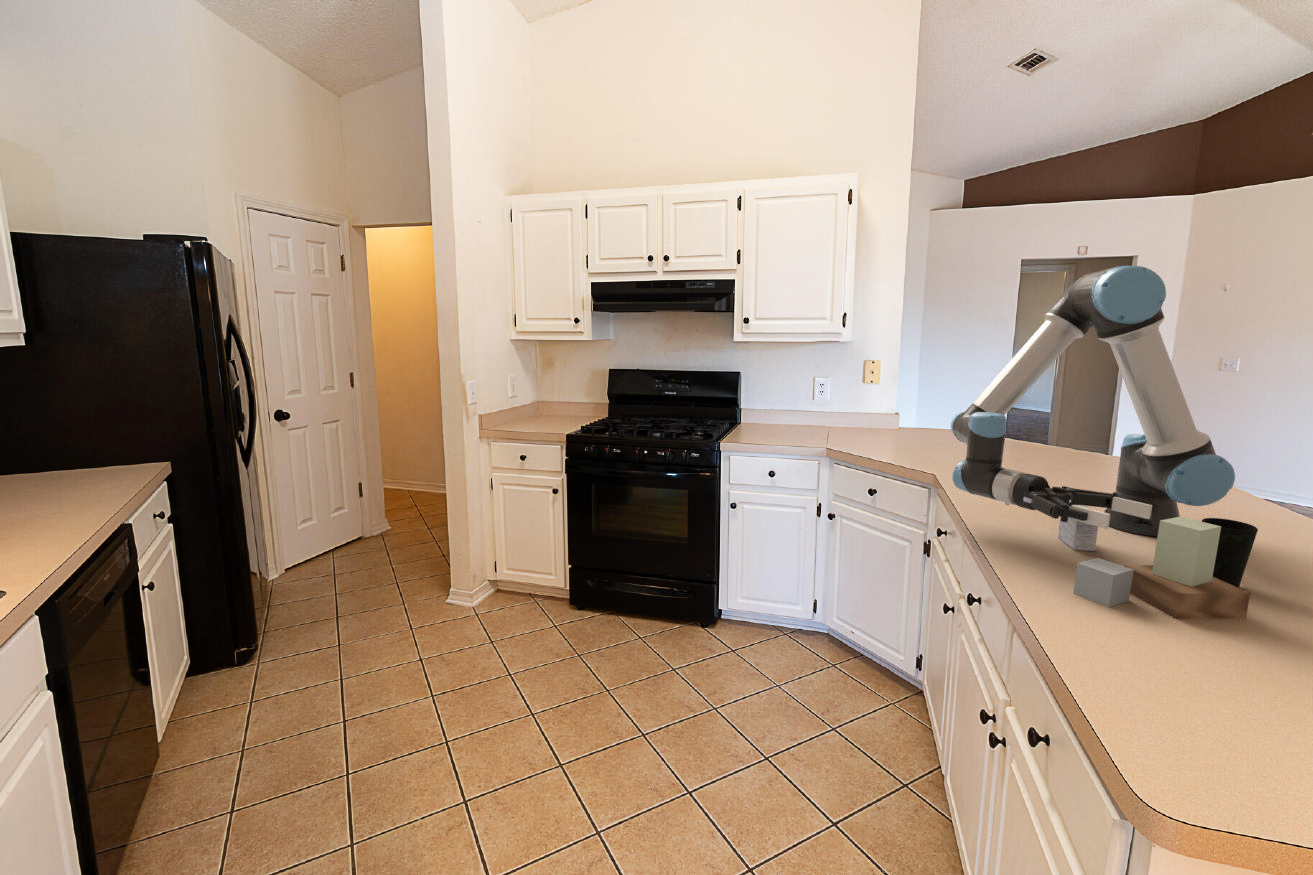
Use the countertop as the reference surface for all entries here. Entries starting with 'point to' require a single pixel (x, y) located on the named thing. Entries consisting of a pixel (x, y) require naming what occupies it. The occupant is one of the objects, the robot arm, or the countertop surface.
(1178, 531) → the sage block
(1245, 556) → the cup
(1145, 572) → the walnut block
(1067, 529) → the medicine box
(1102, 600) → the grey block
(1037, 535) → the countertop surface
